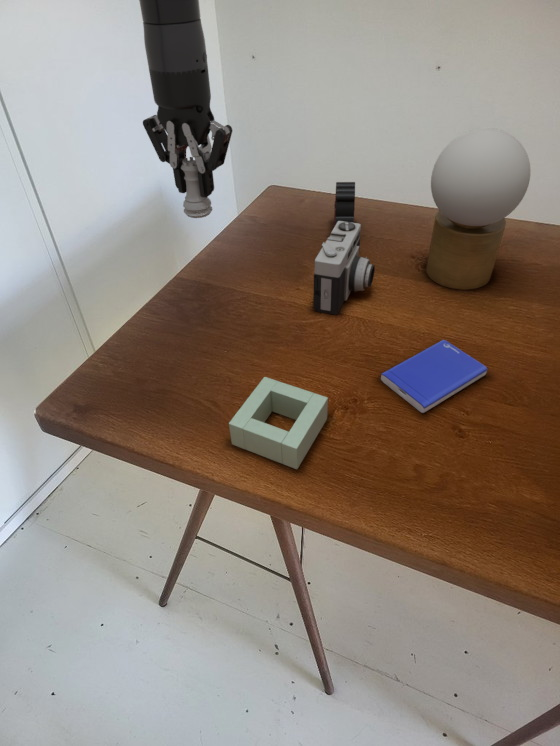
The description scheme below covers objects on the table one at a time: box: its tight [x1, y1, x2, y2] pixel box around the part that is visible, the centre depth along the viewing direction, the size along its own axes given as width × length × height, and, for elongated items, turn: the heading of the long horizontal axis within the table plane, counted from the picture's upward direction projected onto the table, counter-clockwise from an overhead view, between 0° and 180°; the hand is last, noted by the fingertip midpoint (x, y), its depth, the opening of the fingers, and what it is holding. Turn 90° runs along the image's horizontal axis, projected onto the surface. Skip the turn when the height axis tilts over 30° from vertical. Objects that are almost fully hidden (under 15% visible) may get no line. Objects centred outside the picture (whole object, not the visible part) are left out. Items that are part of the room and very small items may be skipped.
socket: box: [228, 376, 329, 470], centre depth 66 cm, size 9×9×4 cm
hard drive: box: [380, 339, 488, 414], centre depth 73 cm, size 2×8×12 cm
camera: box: [312, 221, 376, 315], centre depth 86 cm, size 14×8×10 cm, turn 160°
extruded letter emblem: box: [333, 181, 356, 228], centre depth 100 cm, size 18×4×11 cm, turn 176°
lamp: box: [425, 127, 531, 291], centre depth 83 cm, size 15×14×25 cm
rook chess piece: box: [181, 156, 213, 219], centre depth 77 cm, size 4×4×8 cm
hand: (195, 192), depth 78 cm, fingers closed on rook chess piece, 3 cm apart
